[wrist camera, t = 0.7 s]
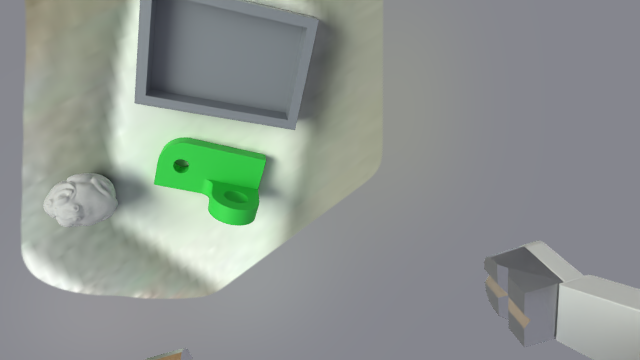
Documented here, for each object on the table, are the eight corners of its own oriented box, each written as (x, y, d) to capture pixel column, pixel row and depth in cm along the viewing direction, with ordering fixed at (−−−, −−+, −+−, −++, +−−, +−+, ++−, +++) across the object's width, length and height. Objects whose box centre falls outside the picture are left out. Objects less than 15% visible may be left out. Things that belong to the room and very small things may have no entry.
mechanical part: (265, 154, 52) (269, 182, 45) (253, 195, 55) (256, 228, 48) (164, 131, 49) (152, 158, 42) (156, 177, 51) (143, 209, 44)
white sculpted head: (58, 160, 48) (32, 188, 42) (124, 162, 49) (108, 190, 43) (66, 207, 51) (42, 239, 44) (128, 207, 52) (114, 239, 46)
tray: (148, -23, 42) (141, -23, 39) (313, 16, 46) (318, 20, 43) (141, 94, 46) (134, 103, 43) (291, 120, 51) (294, 130, 48)
